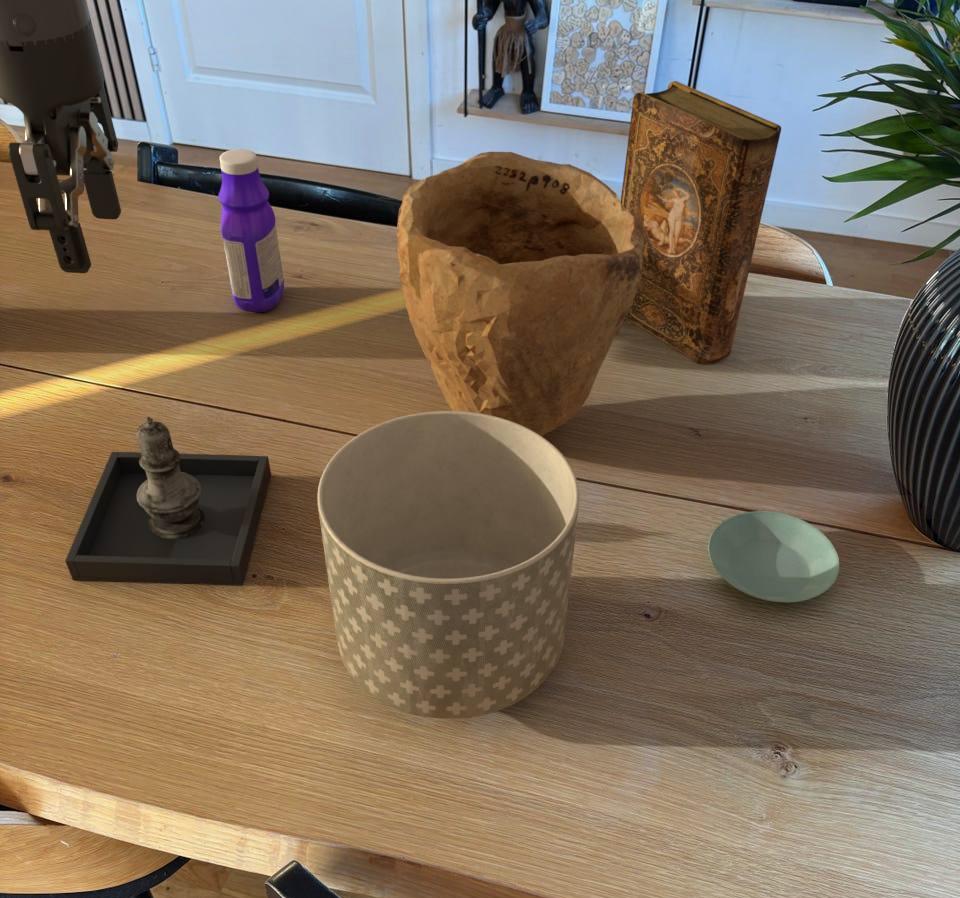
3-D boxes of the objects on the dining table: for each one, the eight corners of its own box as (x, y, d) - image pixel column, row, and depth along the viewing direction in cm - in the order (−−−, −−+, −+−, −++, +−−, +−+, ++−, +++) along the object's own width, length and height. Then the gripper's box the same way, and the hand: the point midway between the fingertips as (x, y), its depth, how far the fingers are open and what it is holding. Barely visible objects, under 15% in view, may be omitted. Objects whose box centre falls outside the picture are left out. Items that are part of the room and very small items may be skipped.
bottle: (249, 283, 127) (224, 139, 114) (292, 288, 127) (272, 144, 114) (227, 313, 123) (199, 167, 110) (272, 318, 122) (249, 172, 109)
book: (738, 352, 118) (790, 129, 100) (705, 368, 116) (752, 143, 97) (639, 293, 127) (670, 78, 108) (607, 307, 125) (633, 90, 106)
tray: (72, 580, 92) (64, 560, 90) (117, 471, 103) (111, 451, 101) (243, 585, 92) (239, 565, 90) (271, 475, 103) (268, 455, 101)
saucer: (836, 626, 90) (843, 608, 88) (702, 608, 91) (706, 590, 89) (829, 537, 98) (836, 519, 96) (705, 521, 99) (710, 503, 97)
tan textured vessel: (633, 498, 101) (672, 261, 82) (408, 506, 100) (395, 268, 81) (600, 368, 116) (626, 143, 97) (404, 374, 115) (392, 147, 96)
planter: (584, 601, 91) (606, 437, 78) (526, 767, 79) (539, 609, 66) (387, 554, 95) (375, 391, 81) (303, 707, 83) (272, 545, 69)
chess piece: (187, 547, 95) (158, 443, 86) (133, 532, 96) (99, 428, 87) (219, 508, 98) (195, 405, 89) (166, 494, 100) (137, 391, 91)
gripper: (12, -21, 74) (73, 199, 86) (-65, 52, 64) (16, 287, 76) (115, -16, 74) (161, 203, 86) (53, 58, 64) (115, 292, 76)
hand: (93, 243), depth 81 cm, fingers open, 8 cm apart
